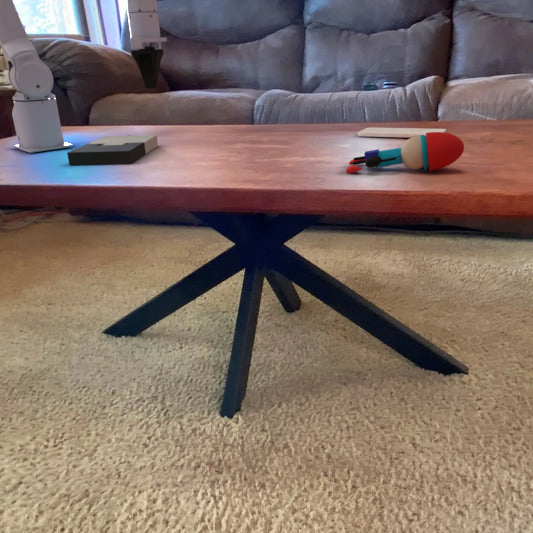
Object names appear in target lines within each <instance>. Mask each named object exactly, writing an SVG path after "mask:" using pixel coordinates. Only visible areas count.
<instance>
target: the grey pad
mask: <svg viewBox="0 0 533 533" xmlns="http://www.w3.org/2000/svg"><path fill="white" fill-rule="evenodd" d="M139 142H144V147H145V155H147V154H149V153H150V152H151V151H153V150H154V149H156V148H157V147H158V146H159V141H158V135H157V134H144V135H143V134H141V135H139V134H138V135H111V136H106V135H105V136H102V137H100V138H98V139H96V140H93V141H90V142H89V143H87V144H101V145H127V144H128V143H139Z"/></svg>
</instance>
